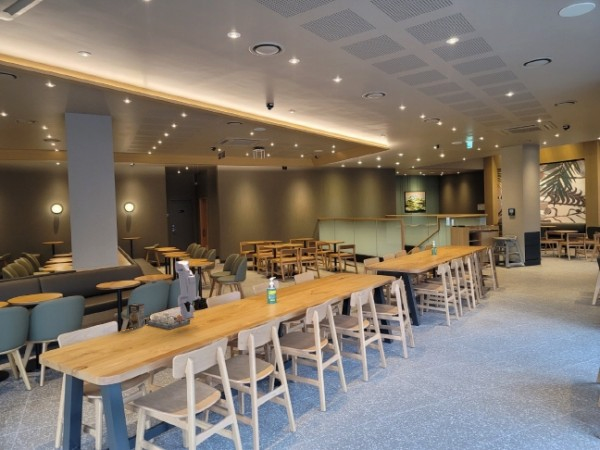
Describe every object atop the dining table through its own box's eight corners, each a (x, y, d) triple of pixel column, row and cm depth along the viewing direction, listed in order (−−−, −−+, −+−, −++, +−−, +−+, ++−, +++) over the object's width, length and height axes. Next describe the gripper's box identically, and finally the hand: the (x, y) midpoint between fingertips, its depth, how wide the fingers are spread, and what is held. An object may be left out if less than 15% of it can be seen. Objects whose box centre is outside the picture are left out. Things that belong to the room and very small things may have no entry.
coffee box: (128, 327, 298) (127, 304, 298) (134, 324, 305) (134, 302, 304) (139, 327, 296) (138, 305, 295) (145, 325, 302) (144, 303, 301)
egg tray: (167, 318, 319) (167, 309, 319) (190, 323, 305) (189, 314, 304) (147, 324, 305) (146, 315, 304) (169, 329, 290) (169, 319, 290)
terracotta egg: (180, 321, 306) (180, 313, 306) (184, 322, 304) (184, 314, 304) (175, 322, 303) (175, 315, 303) (179, 323, 300) (179, 315, 300)
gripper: (187, 294, 295) (188, 313, 296) (203, 291, 307) (203, 309, 308) (181, 293, 299) (181, 312, 300) (196, 290, 311) (197, 308, 312)
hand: (192, 310), depth 304 cm, fingers open, 7 cm apart
